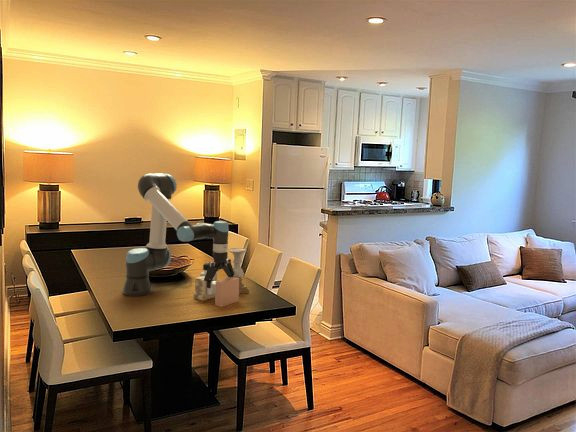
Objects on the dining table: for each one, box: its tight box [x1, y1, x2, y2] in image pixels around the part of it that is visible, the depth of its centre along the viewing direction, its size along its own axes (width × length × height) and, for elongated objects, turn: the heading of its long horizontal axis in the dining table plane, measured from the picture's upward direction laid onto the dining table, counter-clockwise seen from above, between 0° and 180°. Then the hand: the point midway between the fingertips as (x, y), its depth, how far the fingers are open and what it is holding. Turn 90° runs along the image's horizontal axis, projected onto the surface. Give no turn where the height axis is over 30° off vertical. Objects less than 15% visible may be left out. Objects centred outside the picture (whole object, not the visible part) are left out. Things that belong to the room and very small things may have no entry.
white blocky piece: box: [193, 276, 215, 301], centre depth 263 cm, size 7×10×11 cm
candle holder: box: [227, 247, 250, 295], centre depth 275 cm, size 11×11×24 cm
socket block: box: [214, 277, 240, 308], centre depth 253 cm, size 4×13×12 cm, turn 144°
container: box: [199, 262, 218, 281], centre depth 287 cm, size 8×8×13 cm
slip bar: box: [206, 280, 216, 294], centre depth 257 cm, size 15×5×5 cm, turn 54°
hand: (219, 291), depth 257 cm, fingers open, 13 cm apart
